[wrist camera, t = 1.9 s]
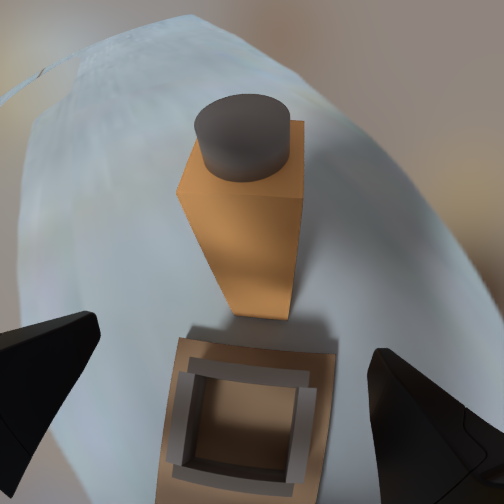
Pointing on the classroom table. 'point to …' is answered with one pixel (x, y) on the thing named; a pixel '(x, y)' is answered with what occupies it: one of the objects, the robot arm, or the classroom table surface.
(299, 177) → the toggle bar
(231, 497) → the keeper
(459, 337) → the classroom table surface
